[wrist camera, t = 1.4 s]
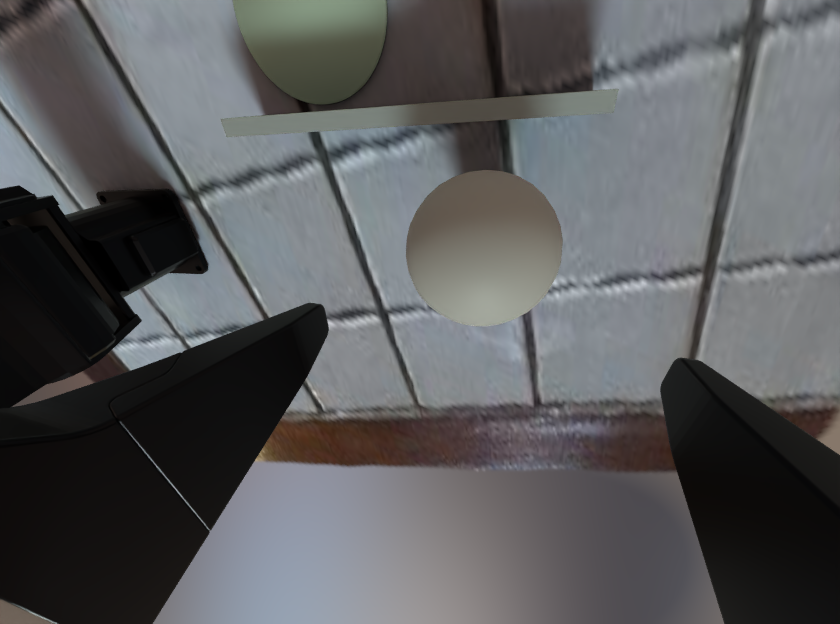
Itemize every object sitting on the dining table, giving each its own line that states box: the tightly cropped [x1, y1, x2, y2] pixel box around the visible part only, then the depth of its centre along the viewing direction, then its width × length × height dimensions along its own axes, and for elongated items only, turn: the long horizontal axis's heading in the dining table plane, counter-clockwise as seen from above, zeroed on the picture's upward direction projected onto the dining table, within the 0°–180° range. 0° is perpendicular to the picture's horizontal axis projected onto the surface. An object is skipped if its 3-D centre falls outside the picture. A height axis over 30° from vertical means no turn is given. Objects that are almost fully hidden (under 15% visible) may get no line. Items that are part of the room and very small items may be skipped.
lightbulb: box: [406, 170, 563, 326], centre depth 15 cm, size 6×6×11 cm
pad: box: [233, 0, 388, 104], centre depth 16 cm, size 8×8×1 cm
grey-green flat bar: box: [221, 89, 618, 137], centre depth 16 cm, size 18×1×4 cm, turn 94°
